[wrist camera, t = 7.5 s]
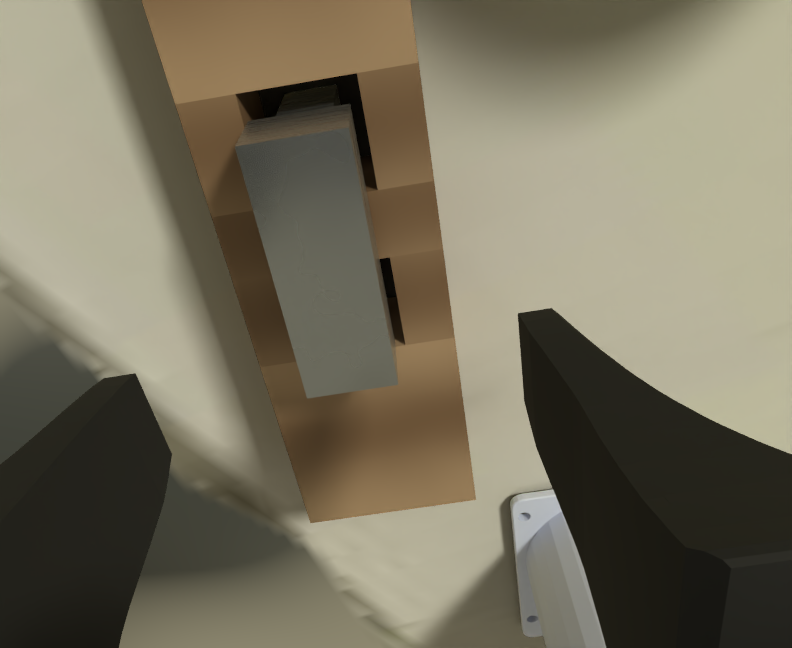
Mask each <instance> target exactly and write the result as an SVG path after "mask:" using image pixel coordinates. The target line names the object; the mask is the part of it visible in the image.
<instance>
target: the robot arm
mask: <svg viewBox="0 0 792 648" xmlns="http://www.w3.org/2000/svg"><path fill="white" fill-rule="evenodd" d="M518 321H519V335H520V348H521V361H522V375H523V388H524V401H525V405H526V409H527V413H528V417H529V421H530V425H531V429H532V432H533V436H534V440H535V444H536V447H537V450H538V452H539V455H540V458H541V460H542V463H543V465H544V468H545V470H546V473H547V475H548V478H549V480H550V483H551V485H552V488H553V489H552V490H545V491H538V492H530V493H523V494H519V495H516V496H515V497H513V498H512V500H511V501H510V509H511V520H512V530H513V541H514V552H515V562H516V573H517V584H518V594H519V605H520V616H521V626H522V631H523V634H524V635H525V636H527V637H539V636H543V638H544V642H545V646H546V648H792V454H789V453H786V452H784V451H781V450H779V449H776V448H774V447H771V446H768V445H766V444H763V443H761V442H758V441H756V440H754V439H752V438H749V437H747V436H745V435H743V434H740V433H738V432H736V431H734V430H731V429H729V428H727V427H725V426H722V425H720V424H718V423H716V422H714V421H712V420H710V419H708V418H706V417H704V416H702V415H700V414H699V413H697V412H695V411H693V410H691V409H689V408H688V407H686V406H684V405H682V404H680V403H678V402H677V401H675V400H673V399H671V398H670V397H668V396H666V395H665V394H663V393H661V392H660V391H658V390H656V389H655V388H653V387H652V386H650V385H649V384H647V383H646V382H644V381H643V380H641V379H640V378H638V377H637V376H635V375H634V374H632V373H631V372H630V371H628V370H627V369H625V368H624V367H623V366H621V365H620V364H619V363H617V362H616V361H615V360H614V359H612V358H611V357H610V356H608V355H607V354H606V353H604V352H603V351H602V350H601V349H599V348H598V347H597V346H596V345H594V344H593V343H592V342H591V341H590V340H588V339H587V338H586V337H585V336H584V335H582V334H581V333H580V332H579V331H578V330H577V329H575V328H574V327H573V326H572V325H571V324H570V323H568V322H567V321H566V320H565V319H564V318H563V317H562V316H561V315H559V314H558V313H557V312H556V311H554V310H553V309H552V308H550V309H543V310H537V311H531V312H524V313H518ZM171 456H172V453H171V451H170V449H169V447H168V445H167V442H166V440H165V438H164V436H163V434H162V431H161V429H160V427H159V425H158V422H157V420H156V418H155V416H154V414H153V411H152V409H151V407H150V405H149V403H148V400H147V398H146V396H145V394H144V391H143V389H142V387H141V385H140V383H139V380H138V378H137V376H136V374H129V375H122V376H116V377H110V378H104V379H103V380H101V381H100V382H98V383H97V384H96V385H94V386H93V387H92V388H90V389H89V390H88V391H87V392H85V393H84V394H83V395H82V396H81V397H79V398H78V399H77V400H76V401H75V402H73V403H72V404H71V405H70V406H69V407H68V408H67V409H65V410H64V411H63V412H62V413H61V414H60V415H58V416H57V417H56V418H55V419H54V420H53V421H51V422H50V423H49V424H48V425H47V426H46V427H45V428H43V429H42V430H41V431H40V432H39V433H38V434H37V435H35V436H34V437H33V438H32V439H31V440H29V442H27V443H26V444H25V445H24V446H23V447H22V448H20V449H19V450H18V451H17V452H15V453H14V454H13V455H12V456H10V457H9V458H8V459H7V460H5V461H4V462H3V463H2V464H1V465H0V648H119V643H120V639H121V634H122V631H123V627H124V624H125V620H126V616H127V613H128V610H129V606H130V603H131V600H132V597H133V594H134V591H135V588H136V585H137V582H138V579H139V576H140V573H141V570H142V567H143V564H144V561H145V558H146V555H147V552H148V549H149V546H150V543H151V540H152V537H153V534H154V531H155V528H156V525H157V521H158V519H159V516H160V512H161V509H162V506H163V502H164V498H165V493H166V487H167V482H168V476H169V469H170V463H171ZM521 513H525V514H521Z"/></svg>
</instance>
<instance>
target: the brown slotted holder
mask: <svg viewBox="0 0 792 648" xmlns="http://www.w3.org/2000/svg"><path fill="white" fill-rule="evenodd" d="M142 3H143V7H144V10H145V13H146V16H147V19H148V22H149V25H150V28H151V31H152V34H153V37H154V41H155V44H156V47H157V50H158V53H159V56H160V59H161V62H162V65H163V68H164V71H165V75H166V78H167V81H168V84H169V87H170V90H171V93H172V96H173V99H174V102H175V105H176V109H177V112H178V115H179V118H180V121H181V124H182V127H183V130H184V133H185V136H186V139H187V143H188V146H189V149H190V152H191V155H192V158H193V161H194V164H195V167H196V170H197V173H198V176H199V180H200V183H201V186H202V189H203V192H204V195H205V198H206V201H207V204H208V207H209V210H210V214H211V217H212V220H213V223H214V226H215V229H216V232H217V235H218V238H219V241H220V244H221V248H222V251H223V254H224V257H225V260H226V263H227V266H228V269H229V272H230V275H231V278H232V282H233V285H234V288H235V291H236V294H237V297H238V300H239V303H240V306H241V309H242V312H243V316H244V319H245V322H246V325H247V328H248V331H249V334H250V337H251V340H252V343H253V346H254V350H255V353H256V356H257V359H258V362H259V365H260V368H261V371H262V374H263V377H264V380H265V384H266V387H267V390H268V393H269V396H270V399H271V402H272V405H273V408H274V411H275V414H276V418H277V421H278V424H279V427H280V430H281V433H282V436H283V439H284V442H285V445H286V448H287V452H288V455H289V458H290V461H291V464H292V467H293V470H294V473H295V476H296V479H297V482H298V486H299V489H300V492H301V495H302V498H303V501H304V504H305V507H306V510H307V513H308V516H309V520H310V523H314V522H321V521H328V520H335V519H343V518H350V517H357V516H364V515H371V514H378V513H385V512H392V511H399V510H406V509H413V508H421V507H428V506H435V505H442V504H449V503H456V502H463V501H470V500H476V497H475V489H474V482H473V474H472V466H471V459H470V451H469V443H468V436H467V428H466V421H465V413H464V405H463V398H462V390H461V383H460V375H459V367H458V360H457V352H456V344H455V337H454V329H453V322H452V314H451V306H450V299H449V291H448V284H447V276H446V268H445V261H444V253H443V245H442V238H441V230H440V223H439V215H438V207H437V200H436V192H435V185H434V177H433V169H432V162H431V154H430V147H429V139H428V131H427V124H426V116H425V108H424V101H423V93H422V86H421V78H420V70H419V63H418V55H417V48H416V40H415V32H414V25H413V17H412V9H411V2H410V0H142ZM355 73H357V77H358V82H359V88H360V93H361V99H362V105H363V110H364V116H365V121H366V127H367V133H368V138H369V144H370V149H371V155H368V156H362V157H360V159H361V164H362V169H363V175H364V180H365V185H366V191H367V196H368V201H369V206H370V212H371V217H372V222H373V228H374V233H375V238H376V244H377V249H378V254H379V259H383V258H389V257H390V261H391V267H392V272H393V278H394V284H395V289H396V295H397V297H393V298H387V302H388V307H389V313H390V318H391V323H392V328H393V334H394V339H395V346H396V359H397V373H398V385H394V386H387V387H381V388H374V389H367V390H361V391H354V392H347V393H341V394H334V395H327V396H321V397H314V398H307V397H306V393H305V390H304V386H303V383H302V379H301V376H300V372H299V369H298V365H297V362H296V358H295V355H294V351H293V348H292V344H291V341H290V337H289V334H288V330H287V327H286V323H285V320H284V316H283V313H282V309H281V306H280V302H279V299H278V295H277V292H276V289H275V285H274V282H273V278H272V275H271V271H270V268H269V264H268V261H267V257H266V254H265V250H264V247H263V243H262V240H261V236H260V233H259V229H258V226H257V222H256V219H255V215H254V212H253V208H252V205H251V201H250V198H249V194H248V191H247V187H246V184H245V181H244V177H243V174H242V170H241V167H240V163H239V160H238V156H237V153H236V149H235V145H236V143H237V141H238V139H239V137H240V136H241V134H242V132H243V130H244V128H245V126H246V124H247V122H248V121H252V120H257V119H263V118H265V116H264V112H263V108H262V104H261V100H260V96H259V92H258V90H262V89H268V88H273V87H279V86H285V85H291V84H297V83H302V82H308V81H314V80H320V79H326V78H331V77H337V76H343V75H349V74H355Z"/></svg>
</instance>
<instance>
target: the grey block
mask: <svg viewBox="0 0 792 648" xmlns="http://www.w3.org/2000/svg"><path fill="white" fill-rule="evenodd" d="M235 149H236V153H237V156H238V160H239V163H240V167H241V170H242V174H243V177H244V181H245V184H246V187H247V191H248V194H249V198H250V201H251V205H252V208H253V212H254V215H255V219H256V222H257V226H258V229H259V233H260V236H261V240H262V243H263V247H264V250H265V254H266V257H267V261H268V264H269V268H270V271H271V275H272V278H273V282H274V285H275V289H276V292H277V295H278V299H279V302H280V306H281V309H282V313H283V316H284V320H285V323H286V327H287V330H288V334H289V337H290V341H291V344H292V348H293V351H294V355H295V358H296V362H297V365H298V369H299V372H300V376H301V379H302V383H303V386H304V390H305V393H306V397H307V398H314V397H321V396H327V395H334V394H341V393H347V392H354V391H361V390H367V389H374V388H381V387H387V386H394V385H398V373H397V359H396V346H395V339H394V334H393V328H392V323H391V318H390V313H389V307H388V302H387V297H386V291H385V286H384V281H383V275H382V270H381V265H380V260H379V254H378V249H377V244H376V238H375V233H374V228H373V222H372V217H371V212H370V206H369V201H368V196H367V191H366V185H365V180H364V175H363V169H362V164H361V159H360V153H359V148H358V143H357V137H356V132H355V127H354V122H353V116H352V111H351V106H350V104H345V105H340V100H339V95H338V90H337V84H336V85H330V86H324V87H318V88H312V89H307V90H301V91H295V92H289V93H285V94H284V97H283V99H282V102H281V104H280V107H279V109H278V112H277V114H276V116H275V117H269V118H263V119H257V120H252V121H248V122H247V124H246V126H245V128H244V130H243V132H242V134H241V136H240V137H239V139H238V141H237V143H236V145H235Z"/></svg>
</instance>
